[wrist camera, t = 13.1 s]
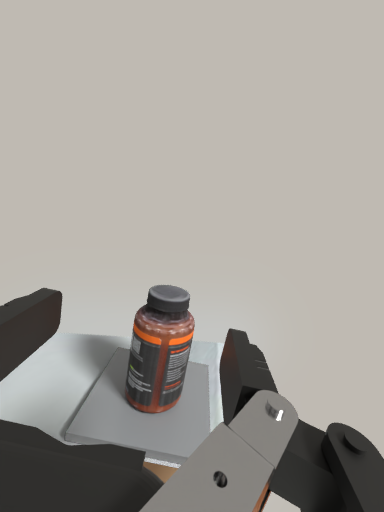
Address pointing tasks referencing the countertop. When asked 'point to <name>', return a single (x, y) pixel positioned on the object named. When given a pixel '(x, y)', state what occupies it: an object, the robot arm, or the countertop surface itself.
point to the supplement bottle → (159, 350)
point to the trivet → (144, 415)
